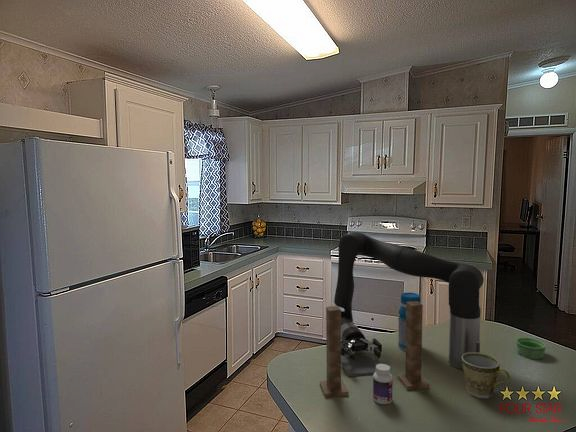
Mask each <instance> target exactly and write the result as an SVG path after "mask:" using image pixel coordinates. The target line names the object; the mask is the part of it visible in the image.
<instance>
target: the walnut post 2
mask: <svg viewBox="0 0 576 432" xmlns="http://www.w3.org/2000/svg"><path fill="white" fill-rule="evenodd" d="M423 307H424V306H423V304H422V303H421V302H420V303H419V302H418V301H412V302H406V351H405V361H404V362H405V363H404V364H405V366H404V367H405V373H402V374H397V379H398V380H399V383H401V385H402V386H403V387H404V388H405V390H407V391H413V390H424V389H425V390H426V389H430V382H428V381H427V380H426V379H425V377H423V375H422V360H423V359H422V357H423V356H422V355H423V353H422V351H423V311H424V310H423Z"/></svg>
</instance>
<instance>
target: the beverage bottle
mask: <svg viewBox="0 0 576 432" xmlns="http://www.w3.org/2000/svg"><path fill="white" fill-rule="evenodd" d="M412 301H418V302H419V303H421V295H420V294H419V293H415V292H403V293H402V292H401V294H400V303H401V306H400V307H399V310H398V314H399V315H398V318H397V319H398V320H397V321H398V343H397V345H398V347H399V348H400V349H401V350H403V351H404V352H406V302H412Z"/></svg>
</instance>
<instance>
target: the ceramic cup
mask: <svg viewBox="0 0 576 432" xmlns="http://www.w3.org/2000/svg"><path fill="white" fill-rule="evenodd" d="M462 365H463V369H462V370H463V375H464V381H465V387H466V391H467V392H468V394H469V395H471V396H472V397H476V398H478V399H486V400H487V399H490V398H491V397H492V396H493V394H494V390H495V387H496V386H497V385H500V384H502V383H505V382H508V381H509V380H510V374H509V372H508V371H507V370H505V369H500V366H501V362H500V361H499V359H498V358H497V357H495V356H492V355H489V354H487V353H482V352H480V353H477V352H469V353H465V354H463V355H462ZM500 373H503V374H505V375H506V377H507V379H504V380H499V382H496V381H497V379H498V375H499V374H500Z"/></svg>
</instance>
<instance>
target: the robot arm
mask: <svg viewBox="0 0 576 432" xmlns="http://www.w3.org/2000/svg"><path fill="white" fill-rule="evenodd" d="M357 256H363V257H369V258H371V259H375V260H376V261H379V262H381V263H382V264H384V265H385V266H387V268H390V269H392V270H394V271H396V272H399V273H402V274H404V275H408V276H412V277H418V278H419V277H420V278H430V279H435V280H440V281H443V282H446V283H447V284H448V306H449V335H448V337H449V338H448V339H449V342H448V363H449V365H451V366H452V367H454V368H456V369H459V370H463V365H462V355H463V354H465V353H469V352H477V353H481V337H480V335H481V333H480V332H481V312H482V311H481V310H482V309H481V307H480V289H481V288H482V286H483V284H484V281H485V279H484V275H483V273H482V271H481V270H480V269H479V268H477V267H476V266H474V265H471V264H466V263H460V262H455V261H451V260H446V259H443V258H439V257H436V256H433V255H430V254H428V253H426V252H422V251H420V250H419V251H418V250H416V249H413V248H410V247H406V246H402V245H398V244H396V243H395V244H394V243H391V242H385V241H381V240H378V239H376V238H373V237H371V236H368V235H366V234H364V233H361V232H358V231H355V232H353V231H352V232H349V233H345V234H343V235H342V236H341V237H340V239H339V241H338V262H337V263H338V268H337V281H336V287H335V291H334V292H335V294H334V299H333V303H334V306H338V307H339V308H340V309H344V311H343V310H341V357H344V356H348V357H349V359H351V360H354V356H355V353H356V352H366V353H368V354H371V353H372V354H373V355H374V356H375V357H376V358H377V359H381V357H382V353H383V344H382V343H380V341H378V339H376V338H372V340H368V339H366V337H365V335H364V333H363V332H362V331H361V329H359V327H358V326H357V325H355V323H354V319H353V309H352V307H353V305H352V303H353V297H354V292H355V280H354V279H355V278H354V265H355V262H356V258H357Z"/></svg>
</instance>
